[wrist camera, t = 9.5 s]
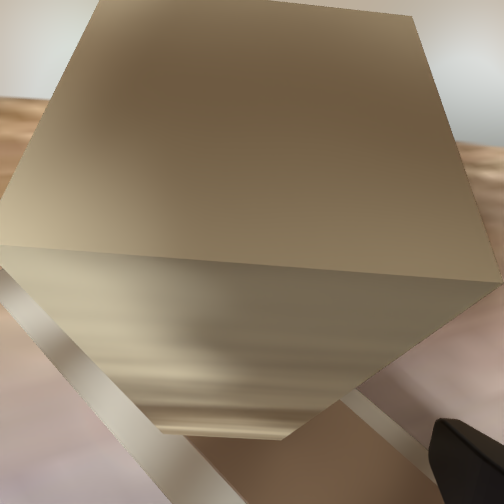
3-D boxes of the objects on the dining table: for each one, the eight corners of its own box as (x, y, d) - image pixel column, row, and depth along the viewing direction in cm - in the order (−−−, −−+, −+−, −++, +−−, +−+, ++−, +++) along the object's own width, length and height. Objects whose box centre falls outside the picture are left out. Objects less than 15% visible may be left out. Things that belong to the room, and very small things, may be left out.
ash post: (281, 440, 14) (503, 282, 3) (162, 434, 14) (-23, 243, 3) (281, 328, 17) (411, 15, 6) (179, 321, 16) (108, -18, 5)
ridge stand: (595, 608, 16) (705, 643, 12) (516, 901, 12) (645, 1077, 8) (127, 201, 25) (112, 153, 21) (-6, 291, 21) (-52, 251, 17)
